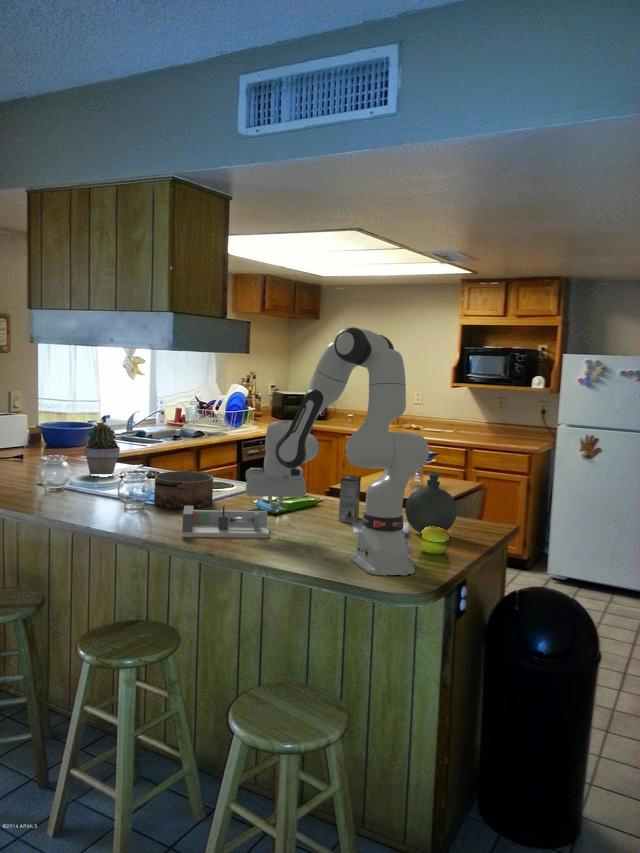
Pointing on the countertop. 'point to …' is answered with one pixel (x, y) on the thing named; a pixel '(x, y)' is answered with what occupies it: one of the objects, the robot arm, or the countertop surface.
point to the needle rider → (223, 520)
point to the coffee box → (349, 498)
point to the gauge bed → (207, 524)
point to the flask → (431, 506)
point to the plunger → (248, 520)
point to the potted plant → (101, 450)
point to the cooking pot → (183, 489)
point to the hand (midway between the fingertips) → (274, 508)
